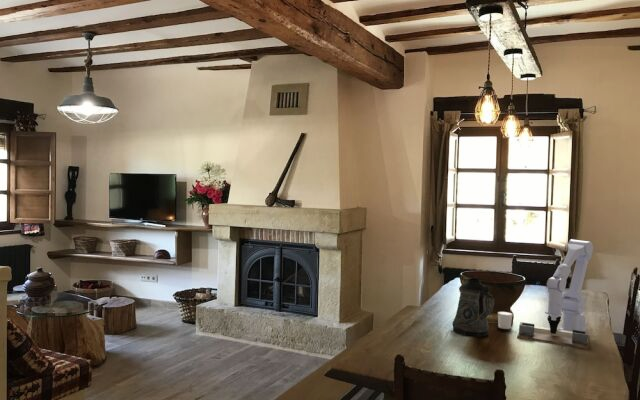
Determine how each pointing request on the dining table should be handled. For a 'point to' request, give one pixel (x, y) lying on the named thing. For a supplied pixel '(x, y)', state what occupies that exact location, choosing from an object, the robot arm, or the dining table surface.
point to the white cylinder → (504, 320)
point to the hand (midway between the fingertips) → (553, 332)
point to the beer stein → (473, 309)
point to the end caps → (577, 335)
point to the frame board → (553, 340)
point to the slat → (547, 331)
